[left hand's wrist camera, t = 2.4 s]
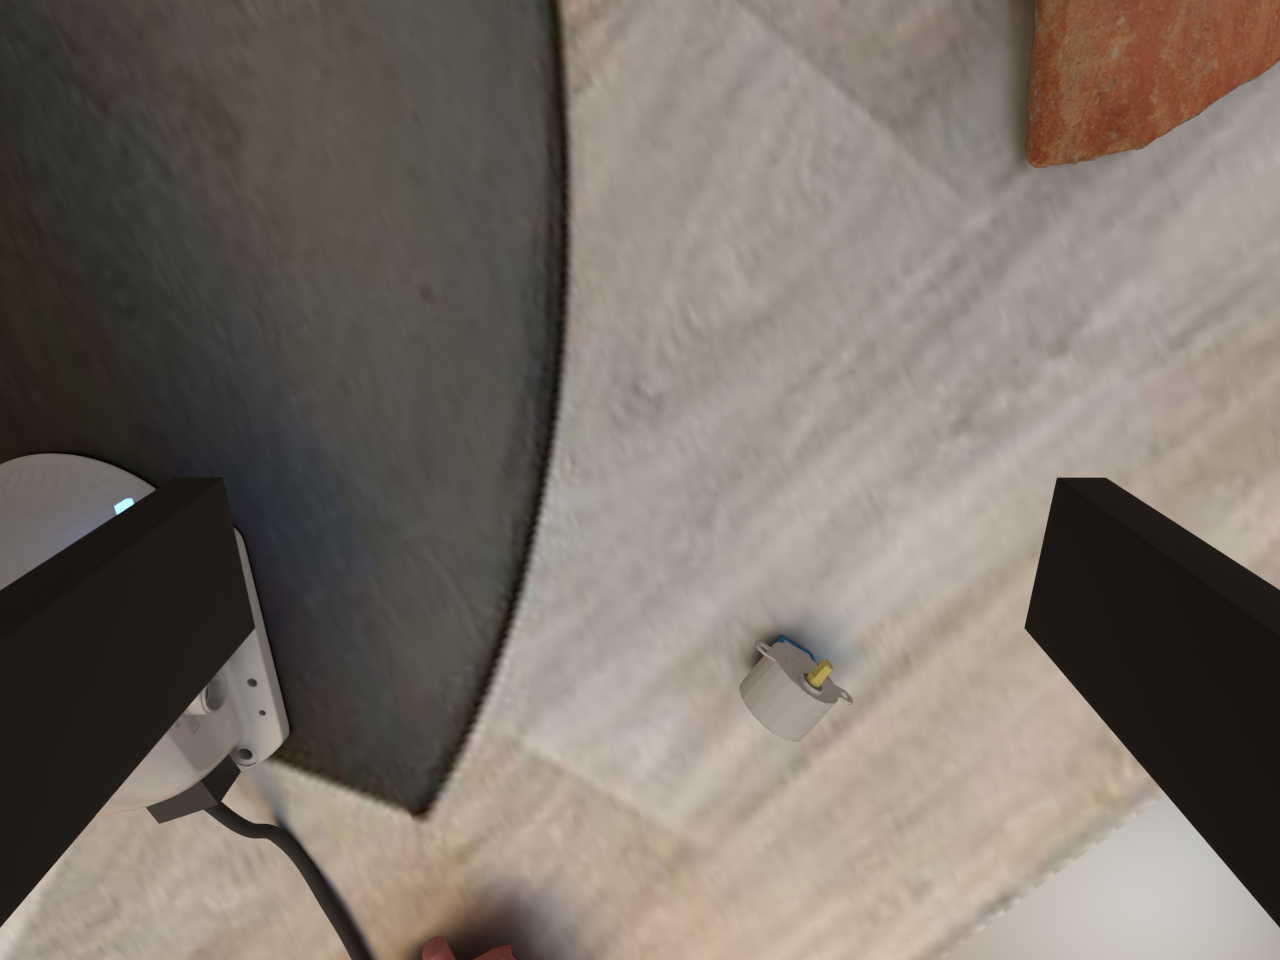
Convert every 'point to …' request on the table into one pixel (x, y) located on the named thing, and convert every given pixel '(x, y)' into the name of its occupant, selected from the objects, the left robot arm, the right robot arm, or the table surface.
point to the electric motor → (790, 690)
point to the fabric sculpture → (440, 956)
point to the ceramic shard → (1136, 69)
